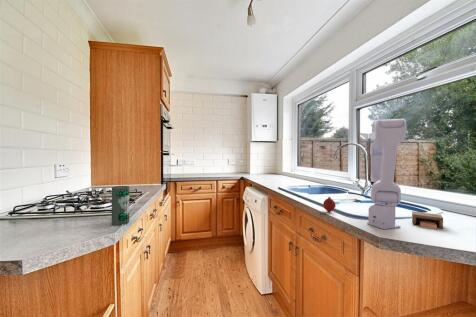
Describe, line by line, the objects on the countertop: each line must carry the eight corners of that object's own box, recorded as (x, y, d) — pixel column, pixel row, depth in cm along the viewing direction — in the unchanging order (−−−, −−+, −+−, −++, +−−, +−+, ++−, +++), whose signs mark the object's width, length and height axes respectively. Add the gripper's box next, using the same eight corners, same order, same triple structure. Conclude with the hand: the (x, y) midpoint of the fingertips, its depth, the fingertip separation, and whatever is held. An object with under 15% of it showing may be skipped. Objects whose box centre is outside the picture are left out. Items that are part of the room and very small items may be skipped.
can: (124, 225, 87) (124, 188, 87) (108, 225, 87) (109, 188, 87) (131, 220, 93) (131, 185, 93) (116, 220, 93) (116, 185, 93)
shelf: (442, 228, 88) (443, 218, 88) (412, 224, 93) (412, 214, 93) (440, 225, 93) (440, 214, 92) (412, 220, 98) (412, 211, 98)
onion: (336, 213, 109) (336, 198, 108) (324, 213, 110) (324, 197, 110) (333, 211, 114) (334, 195, 114) (322, 210, 115) (322, 195, 115)
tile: (436, 230, 87) (436, 225, 87) (420, 227, 90) (420, 223, 90) (434, 226, 92) (434, 221, 92) (419, 224, 95) (419, 219, 95)
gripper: (386, 169, 100) (386, 199, 100) (388, 168, 111) (387, 194, 111) (368, 168, 104) (368, 197, 104) (371, 167, 115) (371, 193, 116)
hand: (377, 195), depth 108 cm, fingers closed
